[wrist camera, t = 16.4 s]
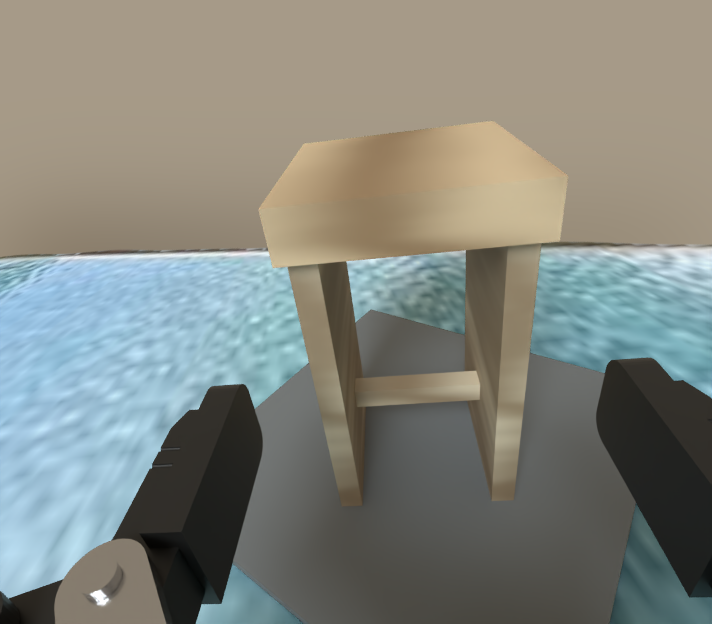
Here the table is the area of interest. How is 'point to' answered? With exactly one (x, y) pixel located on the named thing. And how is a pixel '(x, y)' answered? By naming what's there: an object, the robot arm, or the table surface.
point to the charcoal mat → (438, 502)
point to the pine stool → (412, 237)
